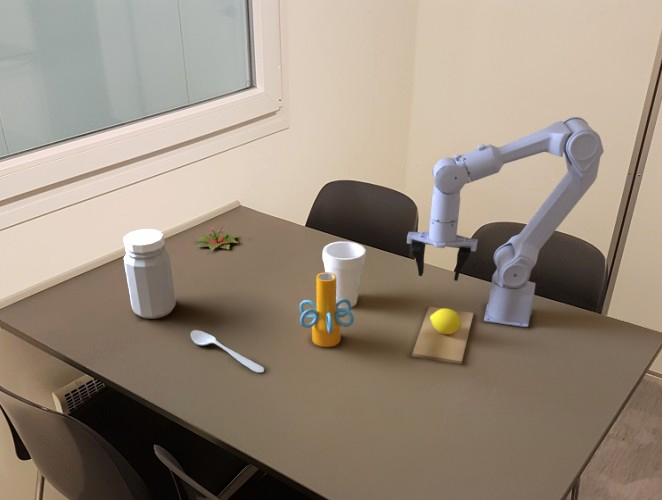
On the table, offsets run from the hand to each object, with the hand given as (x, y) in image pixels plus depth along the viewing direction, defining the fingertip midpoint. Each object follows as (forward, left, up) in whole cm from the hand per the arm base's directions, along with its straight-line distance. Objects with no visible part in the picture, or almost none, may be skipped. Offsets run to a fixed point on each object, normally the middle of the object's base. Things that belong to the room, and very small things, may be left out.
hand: (438, 276), depth 151 cm
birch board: (-3, +8, -9) cm, 13 cm away
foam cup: (+21, 0, -10) cm, 23 cm away
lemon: (-3, +8, -9) cm, 13 cm away
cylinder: (+20, +17, -10) cm, 28 cm away
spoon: (+38, +28, -10) cm, 49 cm away
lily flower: (+62, -21, -10) cm, 66 cm away
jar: (+61, +16, -10) cm, 64 cm away
